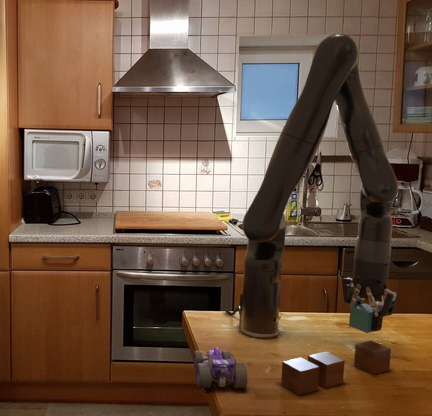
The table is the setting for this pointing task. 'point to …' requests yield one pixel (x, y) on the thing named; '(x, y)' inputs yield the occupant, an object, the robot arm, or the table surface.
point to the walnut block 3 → (372, 357)
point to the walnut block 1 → (300, 376)
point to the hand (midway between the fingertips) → (365, 326)
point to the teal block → (361, 317)
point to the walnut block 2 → (328, 368)
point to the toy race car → (219, 369)
